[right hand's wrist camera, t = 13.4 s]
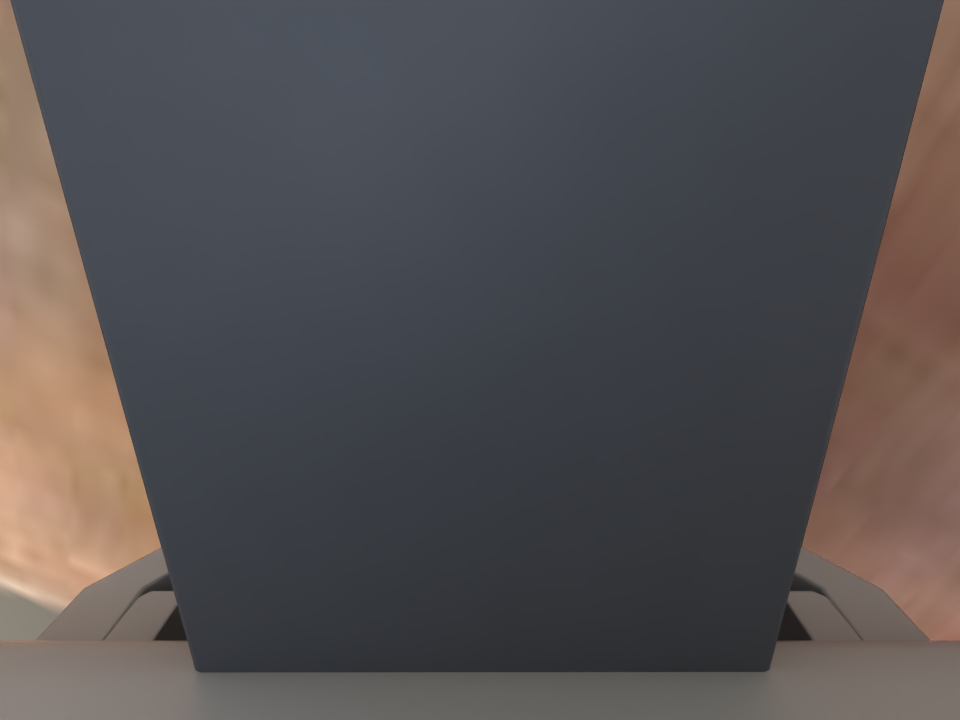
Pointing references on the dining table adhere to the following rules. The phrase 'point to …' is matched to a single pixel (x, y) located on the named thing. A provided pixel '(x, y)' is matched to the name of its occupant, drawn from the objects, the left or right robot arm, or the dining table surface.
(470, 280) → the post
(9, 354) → the dining table surface
